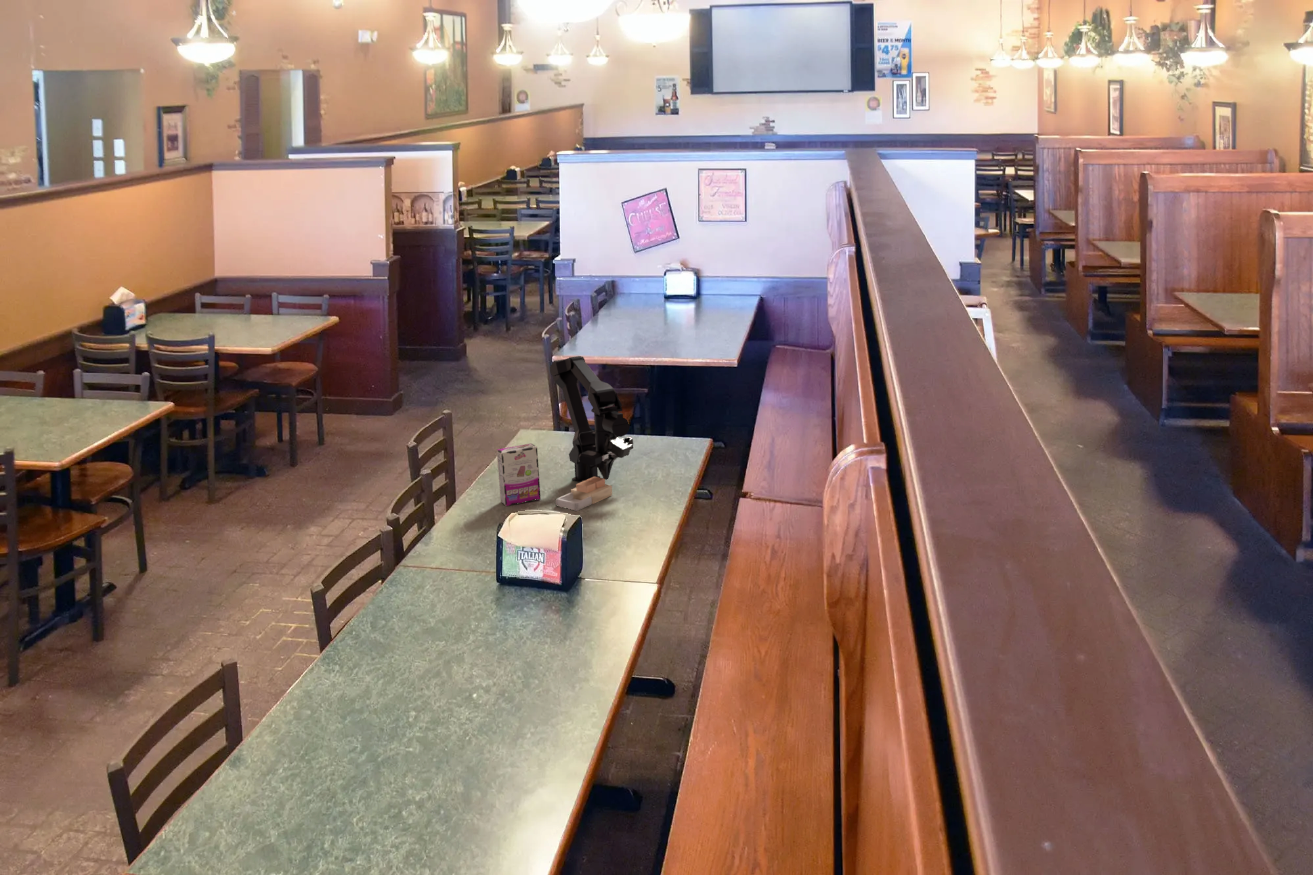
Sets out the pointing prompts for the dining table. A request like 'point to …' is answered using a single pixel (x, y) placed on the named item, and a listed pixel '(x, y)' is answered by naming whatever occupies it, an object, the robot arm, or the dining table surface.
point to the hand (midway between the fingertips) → (606, 479)
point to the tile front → (585, 486)
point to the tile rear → (597, 481)
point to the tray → (573, 502)
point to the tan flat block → (594, 493)
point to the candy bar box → (518, 474)
